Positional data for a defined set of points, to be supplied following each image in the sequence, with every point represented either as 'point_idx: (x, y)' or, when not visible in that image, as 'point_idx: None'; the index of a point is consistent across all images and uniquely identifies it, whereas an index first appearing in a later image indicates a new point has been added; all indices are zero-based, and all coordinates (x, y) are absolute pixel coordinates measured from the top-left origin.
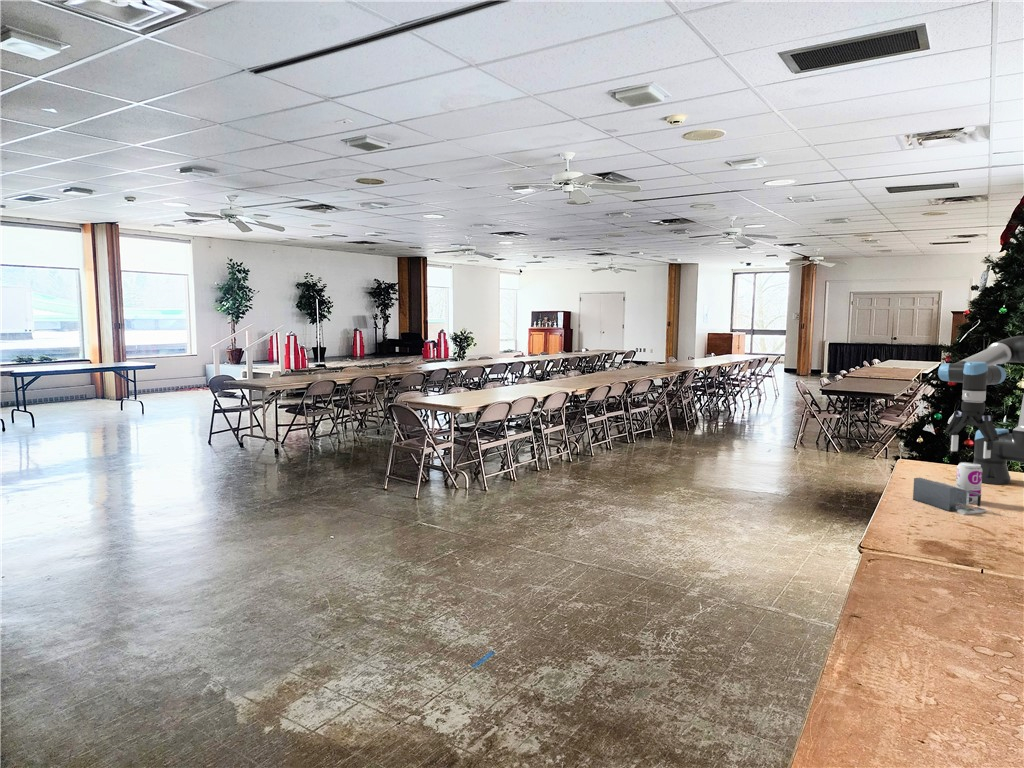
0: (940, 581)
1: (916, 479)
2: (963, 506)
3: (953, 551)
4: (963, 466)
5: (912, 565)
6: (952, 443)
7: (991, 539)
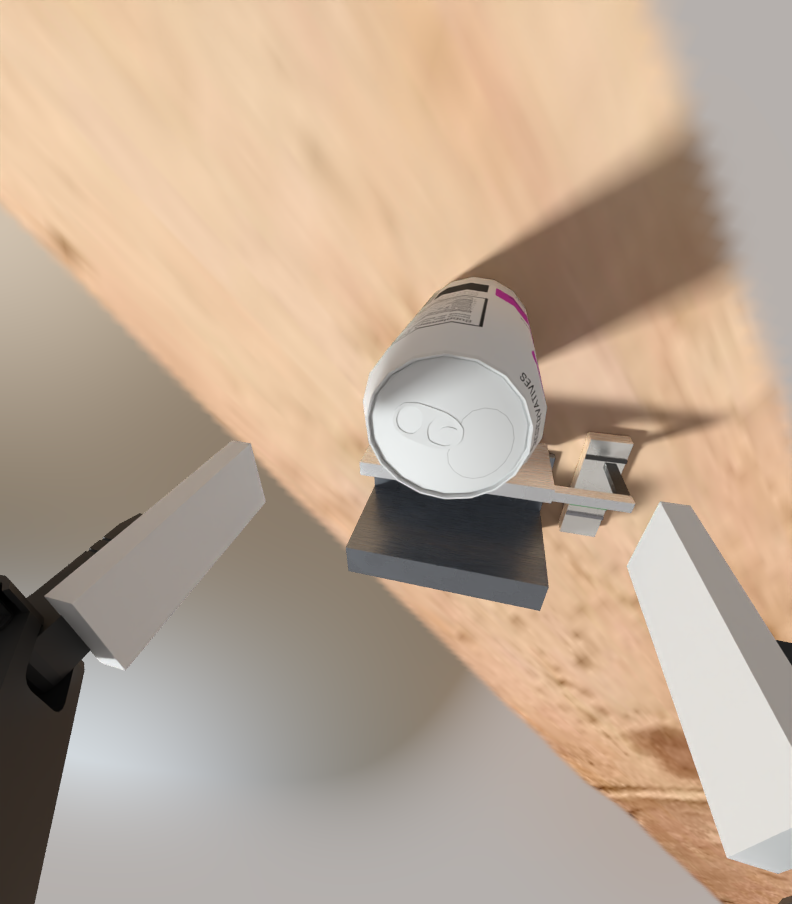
0: None
1: (362, 571)
2: None
3: None
4: (449, 494)
5: (698, 813)
6: (206, 563)
7: None
